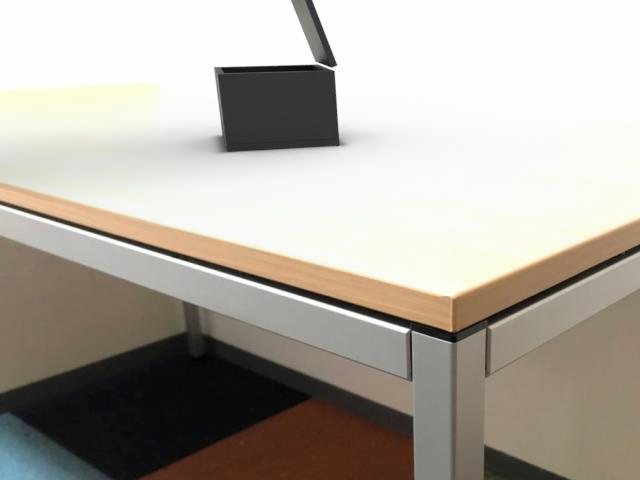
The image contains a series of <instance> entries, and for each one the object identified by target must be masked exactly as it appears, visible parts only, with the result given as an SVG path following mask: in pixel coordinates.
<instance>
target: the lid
mask: <svg viewBox="0 0 640 480" xmlns="http://www.w3.org/2000/svg"><path fill="white" fill-rule="evenodd" d="M290 2H291V4H292V7H293V9H294V12H295V15H296V17H297V19H298V22H299V24H300V27H301V30H302V32H303V34H304V37H305V40H306V42H307V44H308V47H309V49H310V52H311V55H312V57H313V59H314V62H315V63H317V64H319V65H322V66H324V67H327V68H328V67H329V68H330V69H332V68H335V67H338V63H337V60H336V57H335V55H334V53H333V50H332V48H331V45H330V43H329V40H328V37H327V34H326V32H325V29H324V27H323V25H322V22H321V19H320V17H319V14H318V11H317V9H316V6H315V3H314V1H313V0H290Z"/></svg>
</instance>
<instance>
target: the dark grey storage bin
mask: <svg viewBox="0 0 640 480" xmlns="http://www.w3.org/2000/svg"><path fill="white" fill-rule="evenodd" d="M213 70H214V72H213V73H214V78H215V87H216V94H217V103H218V110H219V119H220V125H221V126H220V128H221V133H222V135H221V136H222V139H223V142H224V145H225V149H226V152H240V151H241V152H243V151H260V150H276V149H294V148H295V149H296V148H311V147H328V146H329V147H331V146H340V133H339V132H340V131H339V130H340V129H339V118H338V117H339V116H338V101H337V100H338V99H337V85H336V84H337V83H336V70H333V69H332V68H328V67H327V66H324V65H322V64H319V63H316V64H285V65H284V64H281V65H277V64H276V65H243V66H241V65H240V66H214V67H213Z"/></svg>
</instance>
